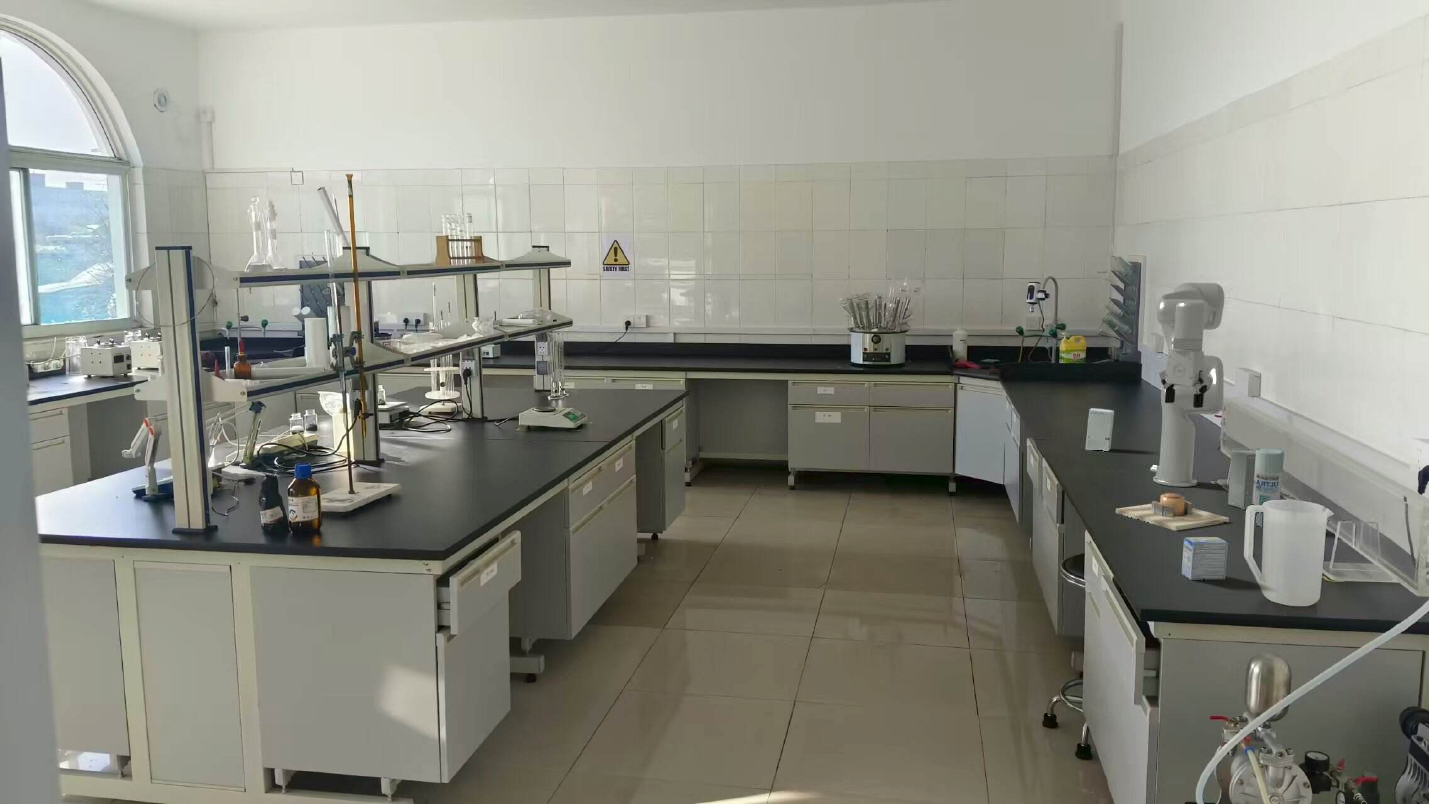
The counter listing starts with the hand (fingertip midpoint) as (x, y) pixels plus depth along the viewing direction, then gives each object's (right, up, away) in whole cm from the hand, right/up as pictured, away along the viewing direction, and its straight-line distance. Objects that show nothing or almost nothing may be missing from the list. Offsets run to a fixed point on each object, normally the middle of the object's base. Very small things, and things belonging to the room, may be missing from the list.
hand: (1183, 405), depth 296 cm
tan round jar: (-9, -29, -13) cm, 34 cm away
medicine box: (-25, -38, -64) cm, 79 cm away
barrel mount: (-9, -31, -13) cm, 35 cm away
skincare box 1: (+6, -17, +82) cm, 83 cm away
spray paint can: (+12, -32, -21) cm, 40 cm away
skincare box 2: (+18, -29, -1) cm, 34 cm away
